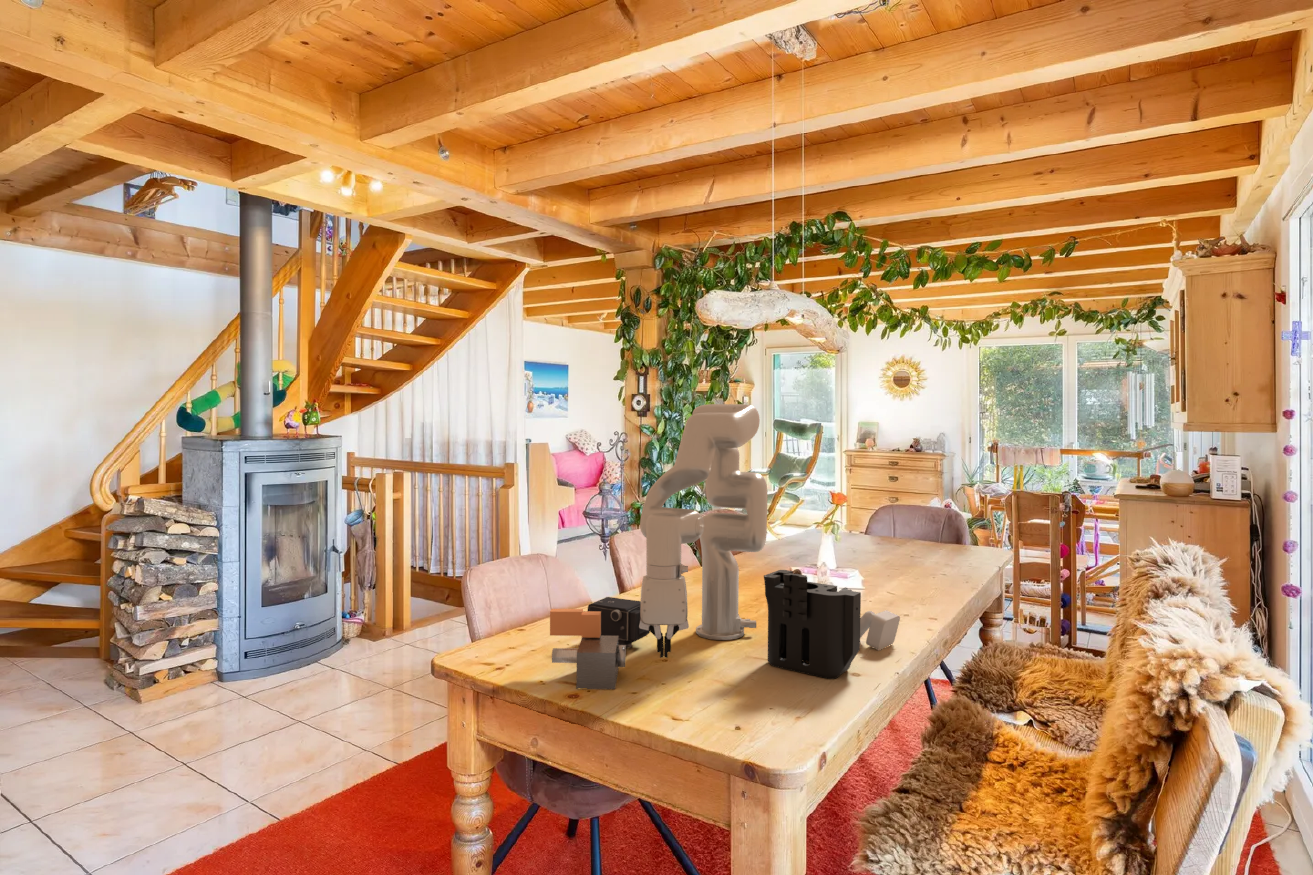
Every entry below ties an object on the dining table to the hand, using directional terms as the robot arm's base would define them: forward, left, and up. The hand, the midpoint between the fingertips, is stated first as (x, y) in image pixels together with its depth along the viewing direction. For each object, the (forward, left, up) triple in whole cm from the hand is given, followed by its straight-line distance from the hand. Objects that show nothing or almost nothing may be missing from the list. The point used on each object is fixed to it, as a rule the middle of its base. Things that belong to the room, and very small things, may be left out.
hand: (663, 655), depth 158 cm
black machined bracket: (-33, -7, -5) cm, 34 cm away
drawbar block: (+14, 0, -5) cm, 15 cm away
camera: (+11, -24, -5) cm, 27 cm away
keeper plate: (+20, -5, +3) cm, 20 cm away
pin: (+16, 0, -2) cm, 16 cm away
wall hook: (-52, -26, -5) cm, 58 cm away
